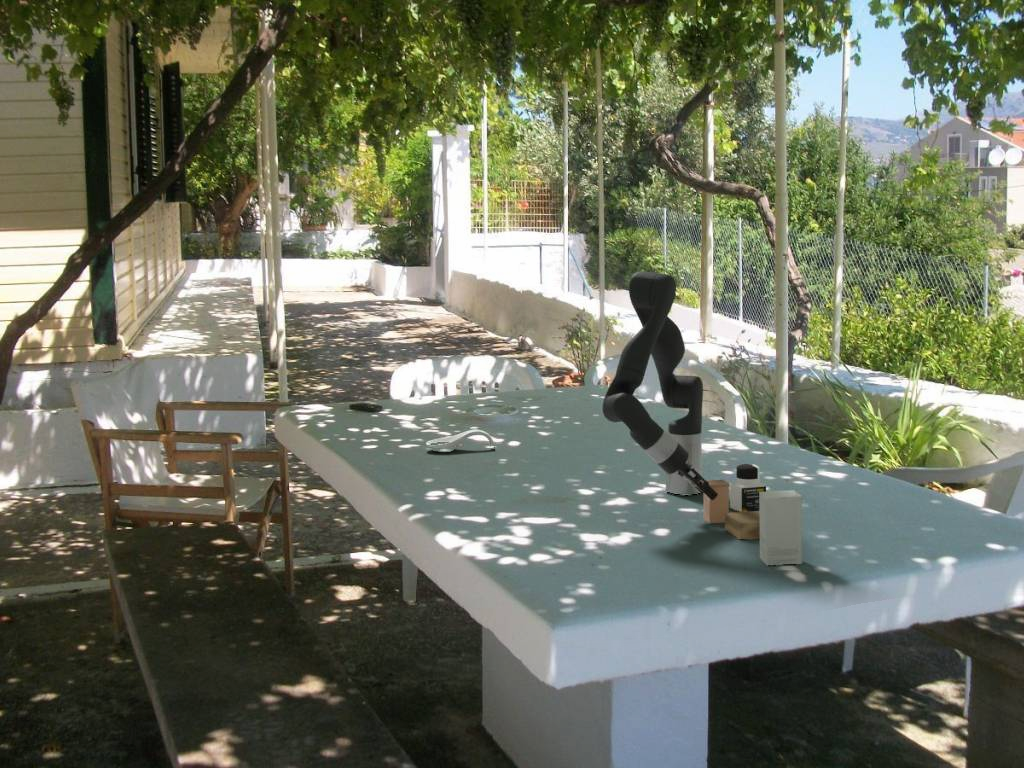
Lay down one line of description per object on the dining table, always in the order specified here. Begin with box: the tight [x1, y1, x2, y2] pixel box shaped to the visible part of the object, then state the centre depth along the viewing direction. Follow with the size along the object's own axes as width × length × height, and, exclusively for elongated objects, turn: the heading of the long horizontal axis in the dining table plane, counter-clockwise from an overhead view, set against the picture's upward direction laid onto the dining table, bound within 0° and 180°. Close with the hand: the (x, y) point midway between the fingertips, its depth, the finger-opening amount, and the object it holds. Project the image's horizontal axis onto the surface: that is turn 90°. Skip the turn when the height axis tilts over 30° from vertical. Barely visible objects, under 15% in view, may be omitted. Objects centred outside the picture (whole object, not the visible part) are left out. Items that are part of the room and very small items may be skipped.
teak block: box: [724, 511, 760, 540], centre depth 290 cm, size 11×11×4 cm
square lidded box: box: [702, 478, 730, 524], centre depth 303 cm, size 5×5×10 cm
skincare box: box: [759, 489, 803, 567], centre depth 263 cm, size 8×7×16 cm
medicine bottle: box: [729, 463, 767, 512], centre depth 314 cm, size 7×7×12 cm
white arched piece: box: [425, 429, 495, 448], centre depth 410 cm, size 24×12×7 cm, turn 97°
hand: (709, 494), depth 302 cm, fingers open, 8 cm apart
